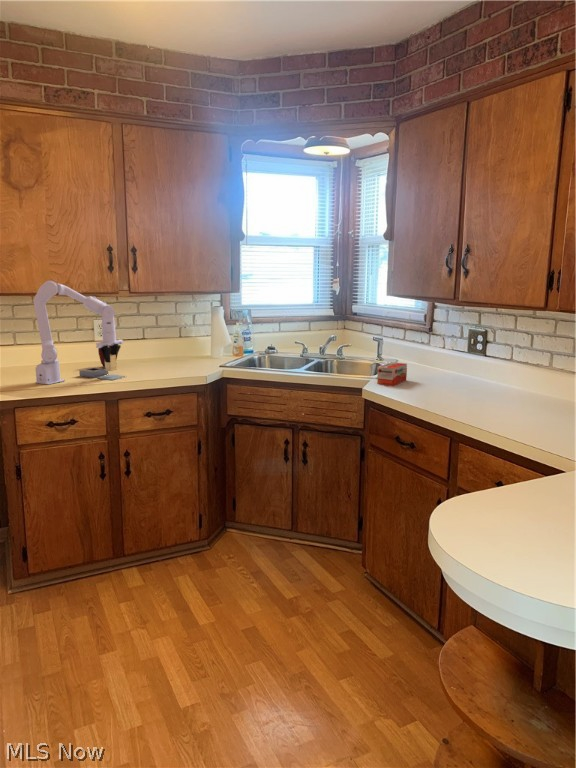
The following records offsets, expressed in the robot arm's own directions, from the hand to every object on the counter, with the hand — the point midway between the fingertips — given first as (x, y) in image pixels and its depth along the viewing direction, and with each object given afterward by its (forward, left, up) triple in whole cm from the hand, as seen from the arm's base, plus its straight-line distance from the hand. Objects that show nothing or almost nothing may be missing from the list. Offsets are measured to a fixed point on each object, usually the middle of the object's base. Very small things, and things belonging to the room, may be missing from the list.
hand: (110, 361), depth 251 cm
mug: (+21, +22, -8) cm, 31 cm away
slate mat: (0, 0, -8) cm, 8 cm away
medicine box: (+48, -118, -8) cm, 128 cm away
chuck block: (0, +11, -8) cm, 13 cm away
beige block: (0, 0, -4) cm, 4 cm away
